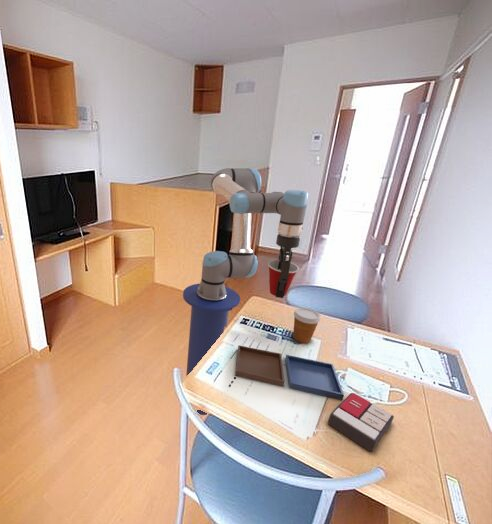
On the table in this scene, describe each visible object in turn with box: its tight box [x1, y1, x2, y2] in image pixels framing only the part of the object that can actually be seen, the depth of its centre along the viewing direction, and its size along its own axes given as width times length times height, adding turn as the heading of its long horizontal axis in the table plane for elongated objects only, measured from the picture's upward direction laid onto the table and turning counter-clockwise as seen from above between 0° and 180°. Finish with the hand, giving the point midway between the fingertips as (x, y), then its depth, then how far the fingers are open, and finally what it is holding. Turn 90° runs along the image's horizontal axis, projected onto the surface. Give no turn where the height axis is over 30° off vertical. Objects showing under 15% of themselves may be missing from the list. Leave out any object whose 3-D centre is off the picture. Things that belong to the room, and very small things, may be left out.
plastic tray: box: [284, 354, 345, 401], centre depth 104 cm, size 15×15×2 cm
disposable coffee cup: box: [292, 307, 321, 344], centre depth 123 cm, size 10×10×12 cm
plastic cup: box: [267, 259, 300, 297], centre depth 115 cm, size 11×11×12 cm
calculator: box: [327, 392, 395, 453], centre depth 86 cm, size 11×4×15 cm
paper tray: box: [235, 344, 285, 387], centre depth 109 cm, size 15×15×2 cm
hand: (278, 292), depth 116 cm, fingers closed on plastic cup, 8 cm apart
